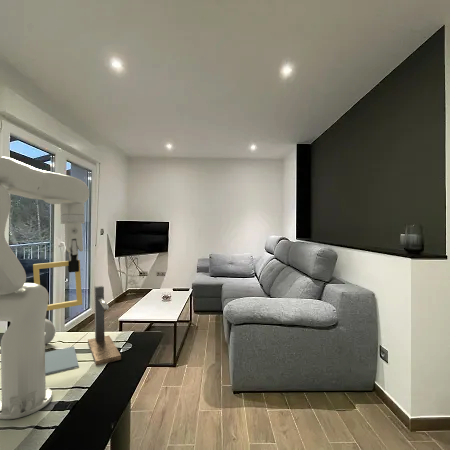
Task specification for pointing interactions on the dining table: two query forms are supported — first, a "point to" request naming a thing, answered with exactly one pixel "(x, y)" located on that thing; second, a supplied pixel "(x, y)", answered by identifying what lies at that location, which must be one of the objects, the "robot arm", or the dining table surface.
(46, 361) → the mat
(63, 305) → the frame
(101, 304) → the stand
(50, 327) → the donut
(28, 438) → the dining table surface
